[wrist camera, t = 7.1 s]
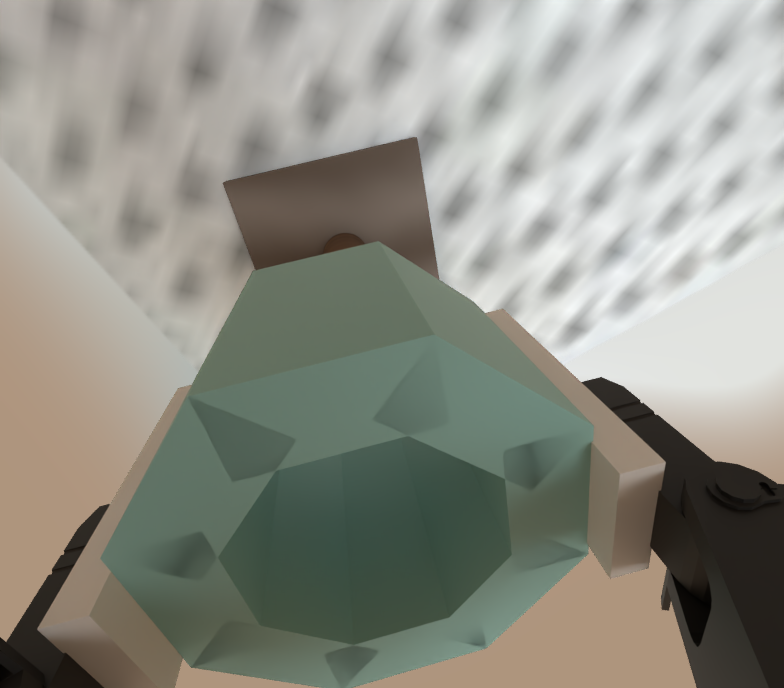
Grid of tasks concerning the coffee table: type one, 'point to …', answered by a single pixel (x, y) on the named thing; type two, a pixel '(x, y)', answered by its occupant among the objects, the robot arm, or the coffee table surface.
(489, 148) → the coffee table surface
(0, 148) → the coffee table surface
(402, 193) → the post stand
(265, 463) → the collar
